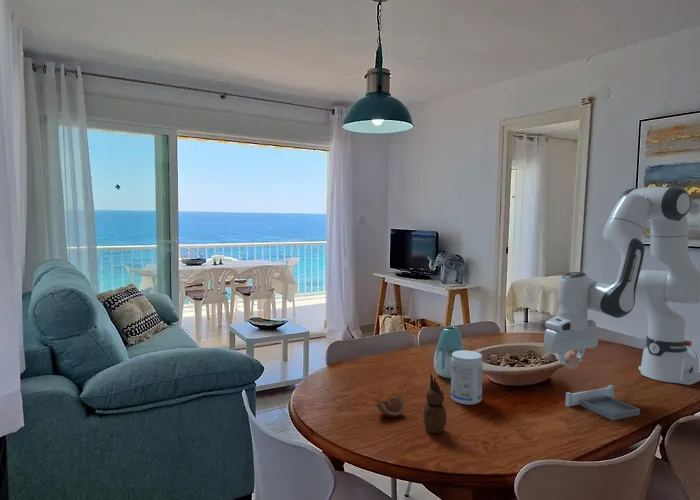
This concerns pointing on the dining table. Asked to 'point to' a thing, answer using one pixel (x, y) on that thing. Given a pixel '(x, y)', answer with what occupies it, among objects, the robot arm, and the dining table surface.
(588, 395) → the wall
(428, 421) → the wooden figurine
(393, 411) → the fruit slice
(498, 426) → the dining table surface
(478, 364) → the supplement tub
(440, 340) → the vase
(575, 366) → the ball
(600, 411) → the dish
